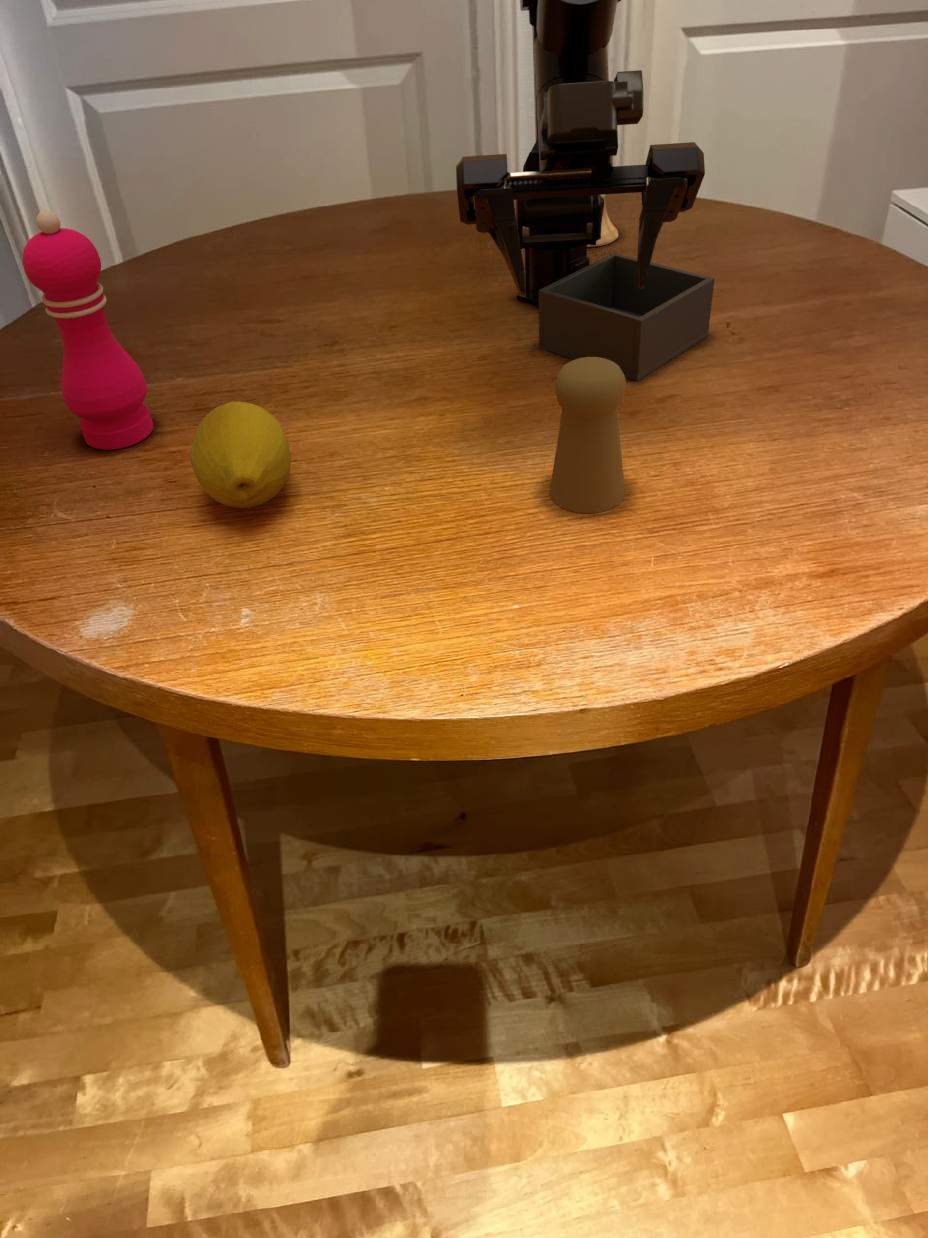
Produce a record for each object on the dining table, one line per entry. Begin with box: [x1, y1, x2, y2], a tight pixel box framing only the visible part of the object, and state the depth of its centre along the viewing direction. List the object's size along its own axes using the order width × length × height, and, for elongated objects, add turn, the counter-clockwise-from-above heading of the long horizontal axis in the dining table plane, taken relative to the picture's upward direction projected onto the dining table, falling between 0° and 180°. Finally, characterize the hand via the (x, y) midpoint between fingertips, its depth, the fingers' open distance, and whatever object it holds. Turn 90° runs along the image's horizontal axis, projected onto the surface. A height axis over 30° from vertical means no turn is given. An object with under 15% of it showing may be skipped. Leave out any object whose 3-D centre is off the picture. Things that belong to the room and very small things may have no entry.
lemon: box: [190, 401, 292, 509], centre depth 76 cm, size 11×8×8 cm
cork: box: [548, 357, 627, 514], centre depth 73 cm, size 6×6×11 cm
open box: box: [538, 252, 715, 382], centre depth 94 cm, size 12×12×6 cm
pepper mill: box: [22, 210, 154, 451], centre depth 82 cm, size 7×7×20 cm
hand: (582, 289), depth 73 cm, fingers open, 9 cm apart
